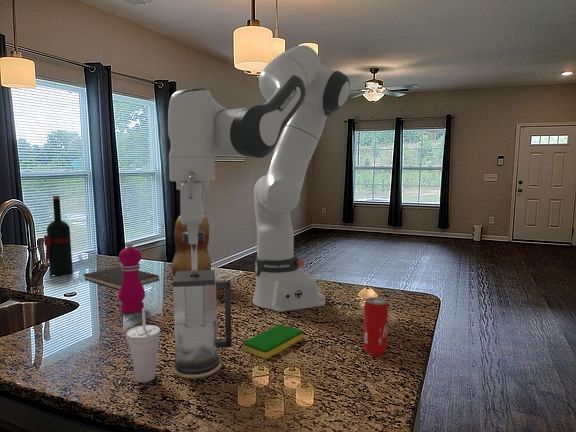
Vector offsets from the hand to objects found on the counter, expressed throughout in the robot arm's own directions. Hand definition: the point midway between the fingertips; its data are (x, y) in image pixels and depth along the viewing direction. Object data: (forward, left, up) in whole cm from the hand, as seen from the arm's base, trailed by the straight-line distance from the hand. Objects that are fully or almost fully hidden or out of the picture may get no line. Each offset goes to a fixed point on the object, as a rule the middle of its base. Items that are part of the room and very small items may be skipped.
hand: (193, 241), depth 84 cm
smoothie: (+10, +3, -27) cm, 29 cm away
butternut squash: (+3, -63, -27) cm, 69 cm away
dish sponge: (-18, -8, -28) cm, 34 cm away
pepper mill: (+19, -38, -27) cm, 51 cm away
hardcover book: (+30, -73, -28) cm, 83 cm away
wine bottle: (+54, -84, -27) cm, 104 cm away
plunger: (0, 0, -12) cm, 12 cm away
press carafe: (0, 0, -27) cm, 27 cm away
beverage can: (-40, 0, -27) cm, 48 cm away
